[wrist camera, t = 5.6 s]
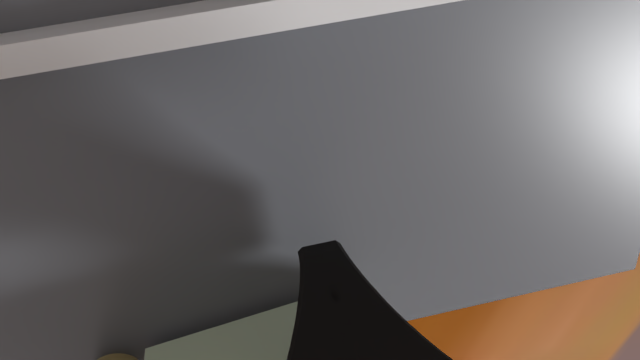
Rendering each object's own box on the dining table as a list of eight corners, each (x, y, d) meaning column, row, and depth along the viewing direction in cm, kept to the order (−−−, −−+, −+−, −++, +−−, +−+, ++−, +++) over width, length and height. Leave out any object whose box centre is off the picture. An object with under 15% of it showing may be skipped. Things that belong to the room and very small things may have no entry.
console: (606, 239, 19) (651, 286, 17) (-66, 388, 17) (-100, 460, 15) (762, -434, 10) (894, -493, 8) (-618, -301, 8) (-875, -341, 6)
